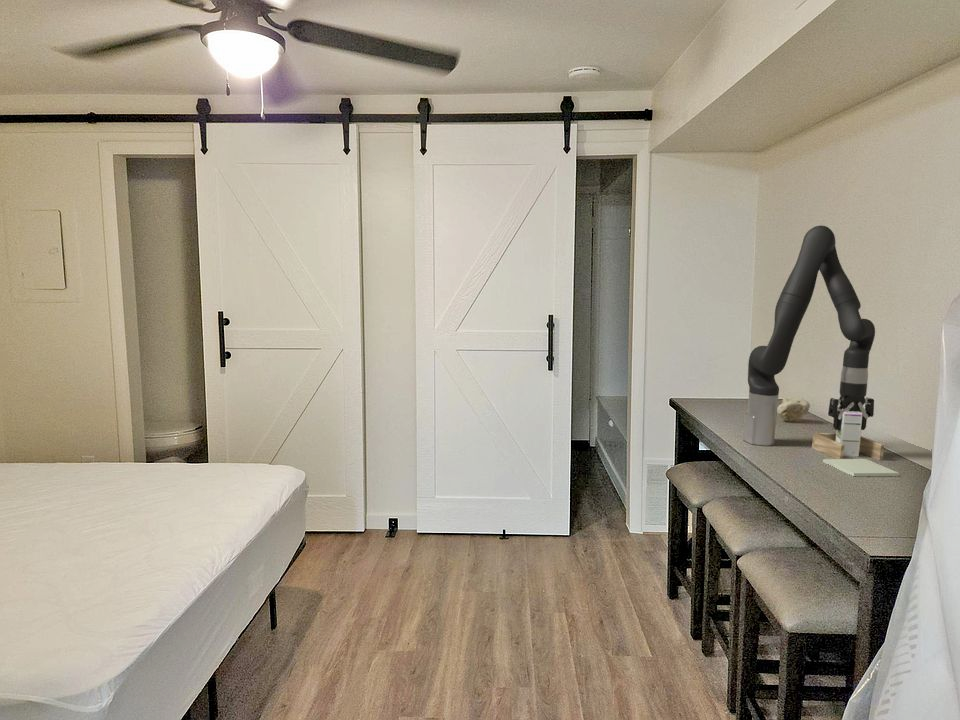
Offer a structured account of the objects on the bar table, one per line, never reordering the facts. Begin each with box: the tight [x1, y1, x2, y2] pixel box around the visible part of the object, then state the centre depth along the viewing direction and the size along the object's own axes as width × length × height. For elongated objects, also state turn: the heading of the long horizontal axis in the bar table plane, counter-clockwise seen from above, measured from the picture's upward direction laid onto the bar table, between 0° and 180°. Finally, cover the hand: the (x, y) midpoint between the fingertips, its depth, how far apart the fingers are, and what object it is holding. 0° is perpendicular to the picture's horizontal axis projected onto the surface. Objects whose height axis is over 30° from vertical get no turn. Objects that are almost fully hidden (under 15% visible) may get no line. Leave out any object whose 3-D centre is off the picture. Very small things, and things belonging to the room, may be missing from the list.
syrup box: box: [835, 409, 862, 458], centre depth 208 cm, size 6×6×14 cm
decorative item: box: [777, 397, 811, 423], centre depth 252 cm, size 12×9×10 cm
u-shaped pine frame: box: [811, 432, 885, 461], centre depth 208 cm, size 14×14×5 cm
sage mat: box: [822, 458, 900, 478], centre depth 192 cm, size 14×14×1 cm
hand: (849, 429), depth 208 cm, fingers open, 8 cm apart
